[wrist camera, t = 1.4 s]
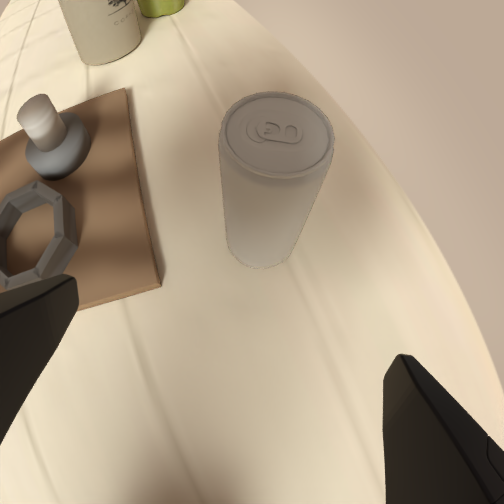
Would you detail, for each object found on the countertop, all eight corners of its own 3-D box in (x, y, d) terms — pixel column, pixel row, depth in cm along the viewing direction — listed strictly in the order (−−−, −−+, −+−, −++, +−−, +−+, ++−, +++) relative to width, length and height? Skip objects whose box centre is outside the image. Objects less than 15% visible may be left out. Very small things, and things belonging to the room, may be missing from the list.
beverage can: (232, 205, 24) (229, 83, 13) (296, 214, 24) (337, 99, 13) (221, 266, 23) (205, 169, 11) (290, 276, 23) (337, 189, 11)
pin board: (161, 286, 22) (127, 251, 15) (-6, 334, 20) (-67, 318, 13) (127, 95, 28) (108, 39, 21) (-1, 150, 26) (-35, 109, 19)
